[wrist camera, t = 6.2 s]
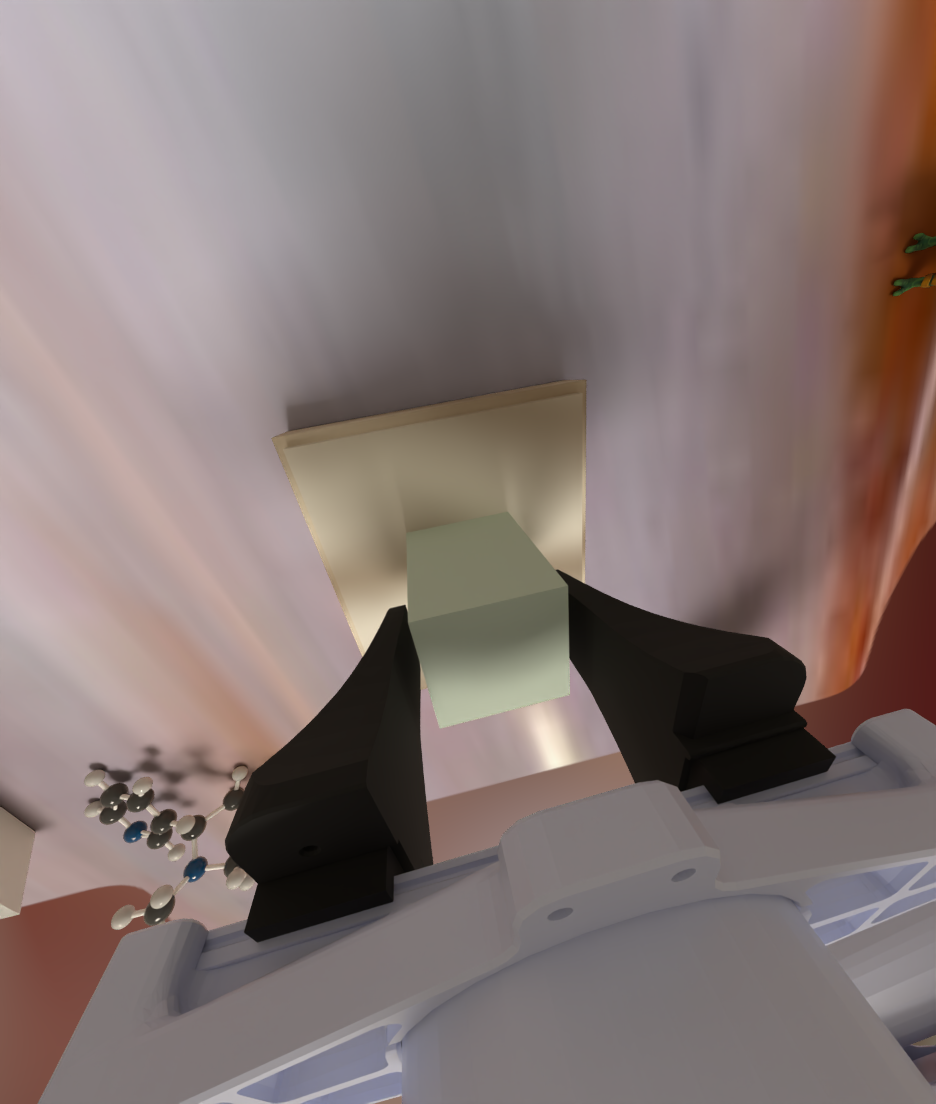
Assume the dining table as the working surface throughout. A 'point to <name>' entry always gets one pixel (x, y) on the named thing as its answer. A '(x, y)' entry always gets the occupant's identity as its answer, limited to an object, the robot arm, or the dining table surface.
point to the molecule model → (163, 839)
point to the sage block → (486, 618)
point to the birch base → (438, 485)
